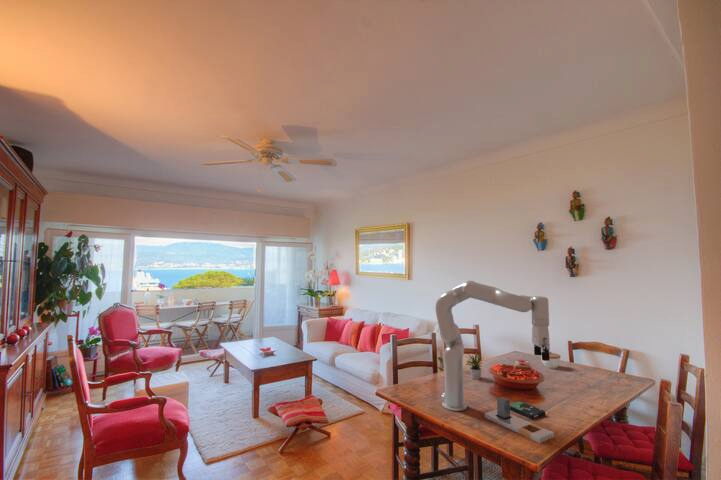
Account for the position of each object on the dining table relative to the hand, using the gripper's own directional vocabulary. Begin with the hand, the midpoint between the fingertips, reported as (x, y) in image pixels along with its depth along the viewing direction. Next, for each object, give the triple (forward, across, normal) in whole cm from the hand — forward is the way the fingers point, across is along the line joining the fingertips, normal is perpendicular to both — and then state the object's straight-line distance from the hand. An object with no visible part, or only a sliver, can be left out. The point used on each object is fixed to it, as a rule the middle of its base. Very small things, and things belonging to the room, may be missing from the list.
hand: (541, 357), depth 166 cm
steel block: (+29, +4, -19) cm, 35 cm away
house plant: (+29, -60, -21) cm, 70 cm away
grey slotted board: (+29, +10, -15) cm, 34 cm away
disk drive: (+30, -8, -6) cm, 31 cm away
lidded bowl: (+29, -91, +39) cm, 103 cm away
